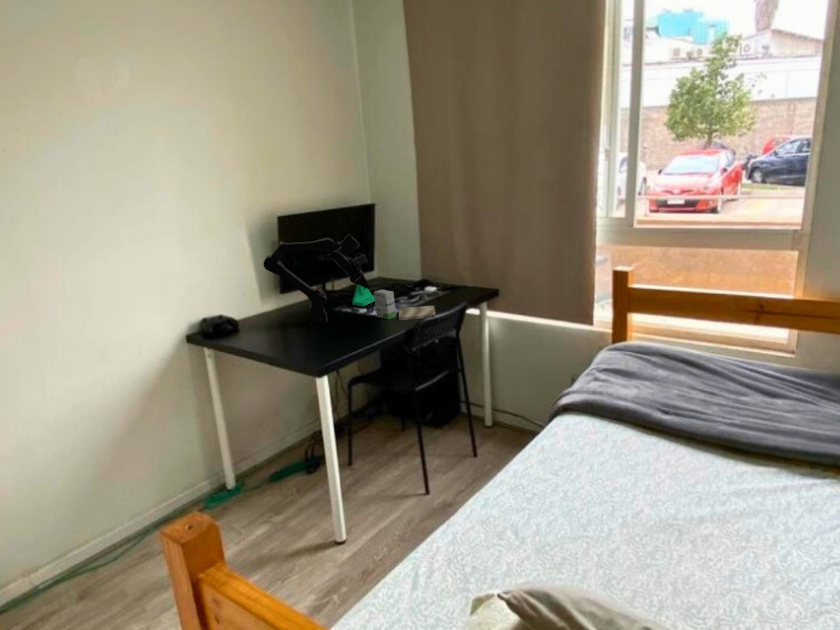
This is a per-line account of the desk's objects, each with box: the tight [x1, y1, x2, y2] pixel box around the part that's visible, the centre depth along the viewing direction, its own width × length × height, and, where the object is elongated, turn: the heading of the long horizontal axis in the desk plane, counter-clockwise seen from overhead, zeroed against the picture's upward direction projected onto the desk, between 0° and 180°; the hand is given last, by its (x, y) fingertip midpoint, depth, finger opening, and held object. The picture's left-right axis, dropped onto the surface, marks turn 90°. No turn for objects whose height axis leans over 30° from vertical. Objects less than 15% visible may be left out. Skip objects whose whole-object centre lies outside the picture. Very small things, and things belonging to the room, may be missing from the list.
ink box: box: [373, 289, 397, 320], centre depth 249 cm, size 9×5×12 cm, turn 42°
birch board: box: [398, 305, 436, 321], centre depth 250 cm, size 16×14×1 cm
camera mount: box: [351, 284, 375, 307], centre depth 273 cm, size 12×8×10 cm, turn 136°
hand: (368, 285), depth 250 cm, fingers open, 9 cm apart
